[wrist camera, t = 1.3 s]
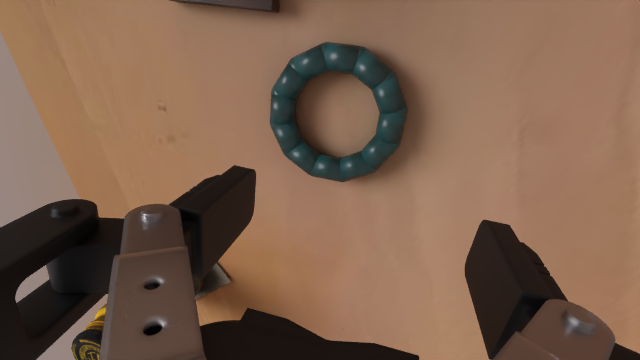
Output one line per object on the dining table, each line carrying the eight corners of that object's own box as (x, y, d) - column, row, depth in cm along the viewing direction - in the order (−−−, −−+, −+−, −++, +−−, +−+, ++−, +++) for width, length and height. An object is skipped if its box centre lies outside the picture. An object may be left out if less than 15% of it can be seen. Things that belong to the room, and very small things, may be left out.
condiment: (144, 259, 39) (46, 343, 28) (190, 230, 36) (98, 312, 25) (185, 304, 40) (106, 400, 30) (232, 279, 37) (163, 378, 26)
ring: (418, 52, 24) (420, 54, 22) (390, 185, 29) (389, 195, 27) (279, 35, 26) (270, 35, 24) (272, 163, 30) (264, 170, 29)
